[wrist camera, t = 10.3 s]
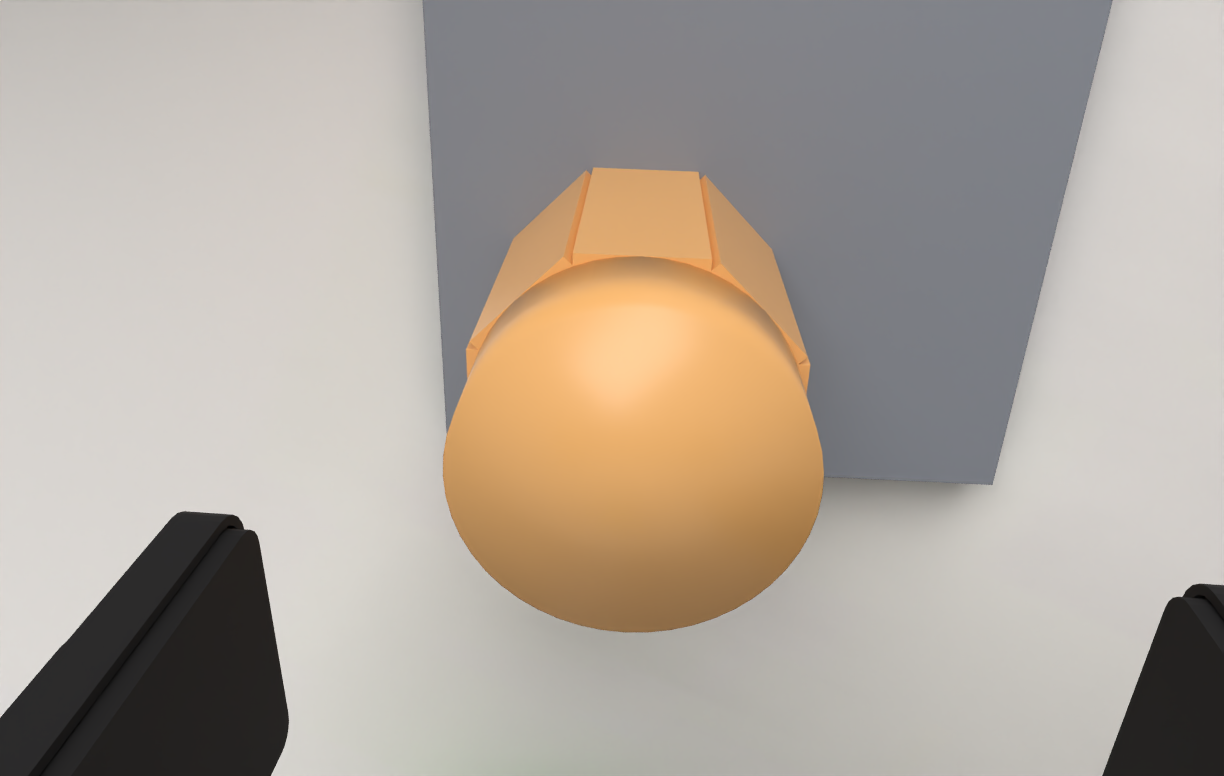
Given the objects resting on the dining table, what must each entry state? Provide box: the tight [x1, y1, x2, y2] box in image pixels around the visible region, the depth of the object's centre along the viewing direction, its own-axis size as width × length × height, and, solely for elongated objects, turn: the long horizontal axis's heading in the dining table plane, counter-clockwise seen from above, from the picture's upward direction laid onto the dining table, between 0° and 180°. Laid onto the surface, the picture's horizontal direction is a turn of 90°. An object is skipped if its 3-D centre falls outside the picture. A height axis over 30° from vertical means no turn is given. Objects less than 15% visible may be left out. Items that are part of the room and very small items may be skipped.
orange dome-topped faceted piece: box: [443, 168, 824, 632], centre depth 16 cm, size 5×5×7 cm
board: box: [423, 0, 1113, 485], centre depth 16 cm, size 12×18×6 cm, turn 178°
